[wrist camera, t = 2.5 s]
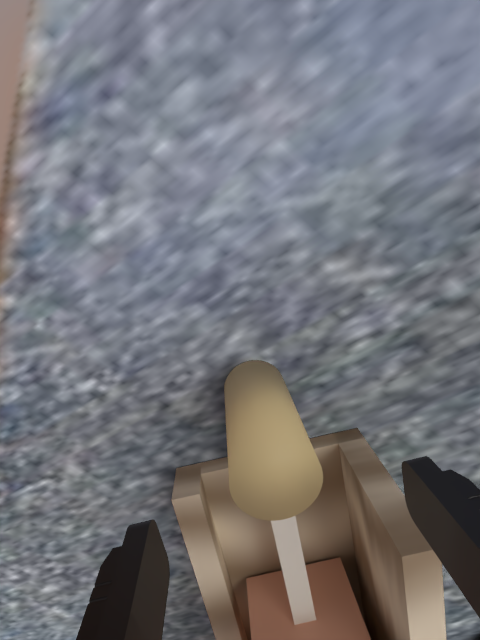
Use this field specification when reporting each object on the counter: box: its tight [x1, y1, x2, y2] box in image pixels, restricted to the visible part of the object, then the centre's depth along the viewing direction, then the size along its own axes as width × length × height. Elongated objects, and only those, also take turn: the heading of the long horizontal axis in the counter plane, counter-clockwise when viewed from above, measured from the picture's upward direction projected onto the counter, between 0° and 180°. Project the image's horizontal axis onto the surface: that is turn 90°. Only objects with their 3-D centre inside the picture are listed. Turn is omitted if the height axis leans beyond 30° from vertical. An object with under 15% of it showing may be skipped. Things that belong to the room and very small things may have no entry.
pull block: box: [224, 360, 371, 640], centre depth 17 cm, size 20×6×7 cm, turn 12°
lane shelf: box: [171, 428, 446, 640], centre depth 18 cm, size 16×11×10 cm
